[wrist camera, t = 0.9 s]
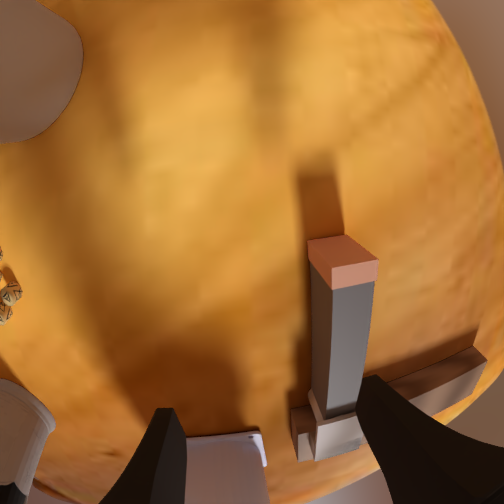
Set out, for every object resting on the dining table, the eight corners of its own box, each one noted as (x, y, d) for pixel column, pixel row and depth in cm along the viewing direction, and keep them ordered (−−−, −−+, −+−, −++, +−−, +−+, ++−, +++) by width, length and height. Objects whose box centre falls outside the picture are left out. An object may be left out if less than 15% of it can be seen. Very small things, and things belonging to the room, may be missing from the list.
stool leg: (339, 397, 23) (354, 430, 20) (307, 405, 23) (319, 440, 19) (349, 234, 18) (381, 258, 14) (304, 241, 18) (327, 268, 14)
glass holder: (47, 396, 20) (1, 519, 7) (70, 458, 25) (50, 548, 11) (-16, 367, 19) (-72, 465, 5) (17, 436, 23) (-12, 516, 9)
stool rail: (292, 439, 25) (302, 478, 21) (289, 382, 22) (304, 429, 17) (459, 379, 27) (479, 404, 22) (482, 318, 23) (510, 343, 19)
